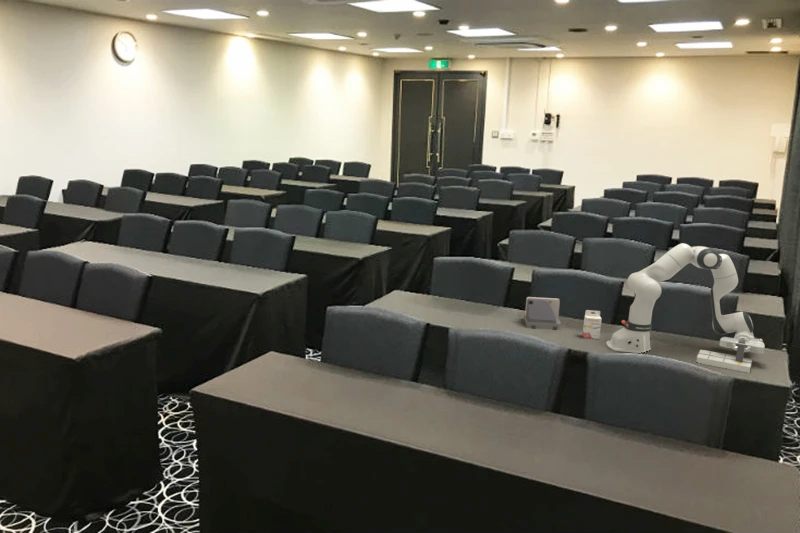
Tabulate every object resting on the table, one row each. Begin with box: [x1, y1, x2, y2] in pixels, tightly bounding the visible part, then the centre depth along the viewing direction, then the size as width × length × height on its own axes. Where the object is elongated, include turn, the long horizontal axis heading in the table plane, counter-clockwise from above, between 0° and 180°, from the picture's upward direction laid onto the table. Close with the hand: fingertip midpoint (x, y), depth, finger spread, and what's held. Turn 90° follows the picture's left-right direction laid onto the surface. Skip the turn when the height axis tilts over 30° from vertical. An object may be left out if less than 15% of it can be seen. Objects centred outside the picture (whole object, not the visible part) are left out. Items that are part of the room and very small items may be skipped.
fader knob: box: [735, 340, 746, 362], centre depth 339 cm, size 3×4×12 cm
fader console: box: [695, 348, 753, 374], centre depth 344 cm, size 24×14×3 cm, turn 60°
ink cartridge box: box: [582, 309, 603, 340], centre depth 376 cm, size 9×5×15 cm, turn 84°
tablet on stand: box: [523, 296, 562, 331], centre depth 396 cm, size 21×21×15 cm
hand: (740, 349), depth 338 cm, fingers closed on fader knob, 3 cm apart
